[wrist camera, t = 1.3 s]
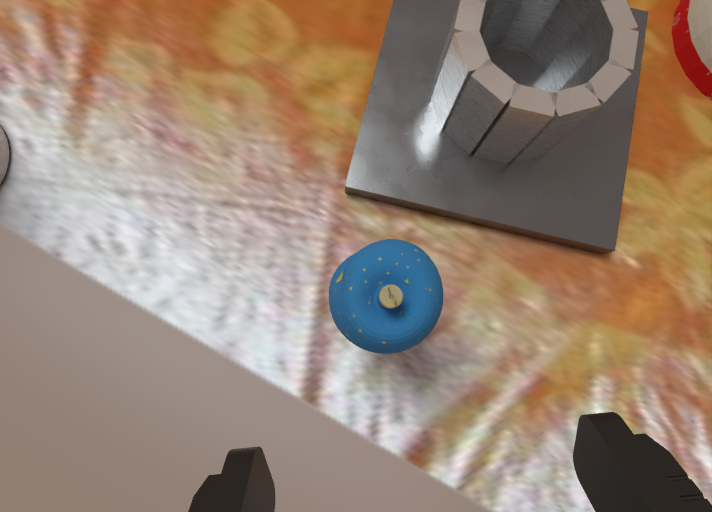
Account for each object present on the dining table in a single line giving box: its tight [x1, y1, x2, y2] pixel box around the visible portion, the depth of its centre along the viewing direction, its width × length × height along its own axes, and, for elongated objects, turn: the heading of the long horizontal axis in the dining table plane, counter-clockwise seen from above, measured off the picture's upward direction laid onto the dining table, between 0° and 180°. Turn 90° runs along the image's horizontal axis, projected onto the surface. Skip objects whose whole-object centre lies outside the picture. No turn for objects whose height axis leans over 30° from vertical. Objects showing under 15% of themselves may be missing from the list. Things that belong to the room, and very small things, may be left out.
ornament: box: [329, 239, 443, 353], centre depth 23 cm, size 5×5×15 cm
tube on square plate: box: [345, 0, 648, 254], centre depth 29 cm, size 20×20×8 cm
